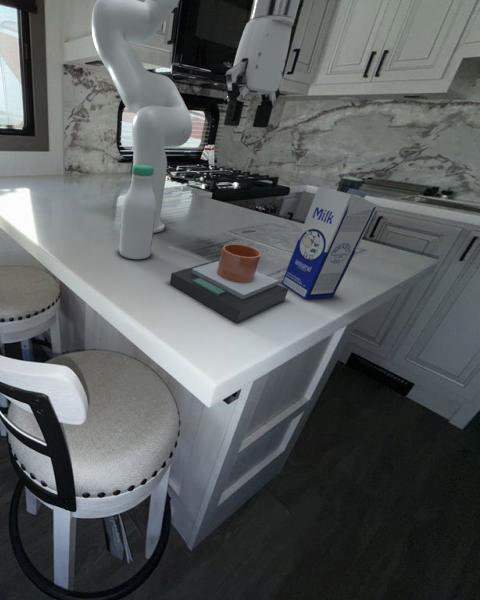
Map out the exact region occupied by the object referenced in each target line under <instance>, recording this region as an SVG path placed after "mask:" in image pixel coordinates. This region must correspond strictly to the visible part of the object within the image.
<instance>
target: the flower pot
mask: <svg viewBox="0 0 480 600" xmlns="http://www.w3.org/2000/svg"><path fill="white" fill-rule="evenodd" d="M261 257H262V252H261V251H260V250H259V249H257V248H255V247H253V246H250V245H245V244H239V243H228V244H224V245H223V246H222V248H221V252H220V256H219V259H220V260H219V259H218V260H219V264H218V268H217V273H218V275H219V276H221V277H222V278H224V279H227V280H229V281H233V282H239V283H246V282H251V281H252V280H253V279H254V276H255V273H256V271H257V270H258V267H259V264H260V261H261Z"/></svg>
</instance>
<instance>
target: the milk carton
mask: <svg viewBox="0 0 480 600" xmlns="http://www.w3.org/2000/svg"><path fill="white" fill-rule="evenodd" d="M336 190H337V189H331V188H328V187H324V186H320V185H318V186H317V190H316V191H315V195H314V198H313V200H312V203H311V204H310V208H309V211H308V213H307V217H306V218H305V221H304V223H303V226H302V229H301V231H300V234H299V237H298V240H297V242H296V245H295V247H294V250H293V252H292V255H291V257H290V260H289V263H288V266H287V268H286V271H285V273H284V276H283V279H282V280H281V284H282V285H284V287H285V288H287V289H289V290H290V291H293V292H294V293H295V294H296V295H298V296H300V297H301V298H303V300H314V299H315V300H316V299H327V298H334V296H335V294H336V292H337V290H338V288H339V286H340V284H341V283H342V280H343V279H344V276H345V274H346V272H347V270H348V268H349V265H350V264H351V262H352V260H353V258H354V256H355V253H356V252H357V249H358V247H359V245H360V243H361V241H362V240H363V237H364V235H365V233H366V231H367V229H368V227H369V225H370V223H371V221H372V219H373V217H374V215H375V213H376V211H377V208H378V207H379V204H377V203H375V202H372V201H370V200H369V199H366V196H367V195H368V194H367V193H366V192H364V191H361V190H359V189H358V190H355V189H351V188H349V190H348V191H347V193H344V192H340V191H336Z"/></svg>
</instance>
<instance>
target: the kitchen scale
mask: <svg viewBox="0 0 480 600" xmlns="http://www.w3.org/2000/svg"><path fill="white" fill-rule="evenodd" d="M219 260H220V258H219V259H215V260H212V261H208V262H205V263H201V264H198V265H195V266H191V267H188V268H184V269H179V270H177V271H173V272H171V275H170V279H169V284H170V285H171V286H172V287H174V288H176V289H178V290H179V291H181V292H183V293H185V294H186V295H188V296H190V298H193V299H194V300H196V301H198V302H200V303H201V304H203V305H205V306H206V307H208V308H210V309H212V310H213V311H215V312H216V313H218V314H220V315H222V316H223V317H225V318H227V319H228V320H230V321H232V322H233V323H235V324H238V323H240V322H241V321H243V320H245V319H248V318H250V317H252V316H254V315H256V314H258V313H260V312H263V311H265V310H267V309H269V308H271V307H273V306H275V305H278V304H280V303H281V302H284V301H285V300H286V297H287V294H288V292H289V290H290V289H289V288H288V287H286V286H282V285H280V284H279V281H280V280H278V279H277V278H276V279H275V278H273V277H271V276H268V275H266V274H264V273H262V272H260V271H257V270H256V273H255V276H254V279H253V280H252V281H251V282H246V283H239V282H233V281H229V280H227V279H224V278H222V277H221V276H219V275H218V273H217V268H218V264H219Z"/></svg>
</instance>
